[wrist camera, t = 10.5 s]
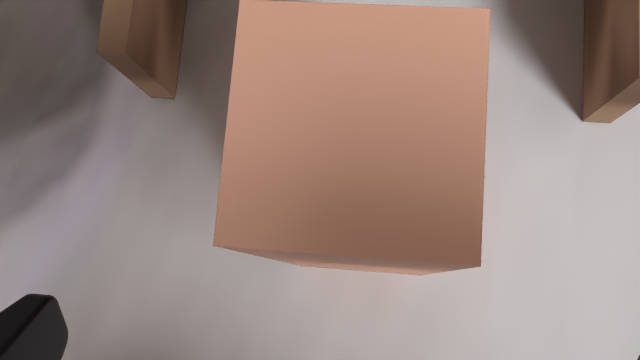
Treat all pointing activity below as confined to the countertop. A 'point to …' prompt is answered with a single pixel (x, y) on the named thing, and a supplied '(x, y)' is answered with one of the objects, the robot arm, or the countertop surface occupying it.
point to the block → (356, 136)
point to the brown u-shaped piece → (168, 23)
